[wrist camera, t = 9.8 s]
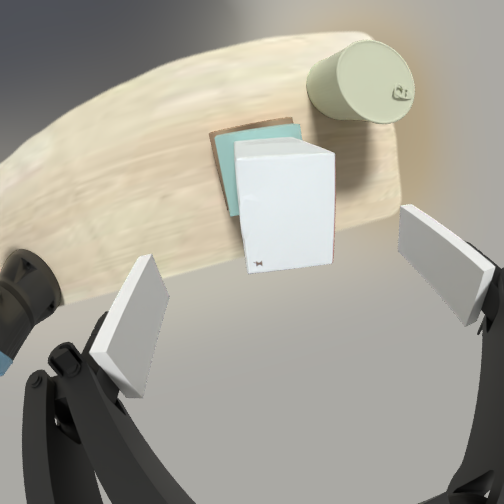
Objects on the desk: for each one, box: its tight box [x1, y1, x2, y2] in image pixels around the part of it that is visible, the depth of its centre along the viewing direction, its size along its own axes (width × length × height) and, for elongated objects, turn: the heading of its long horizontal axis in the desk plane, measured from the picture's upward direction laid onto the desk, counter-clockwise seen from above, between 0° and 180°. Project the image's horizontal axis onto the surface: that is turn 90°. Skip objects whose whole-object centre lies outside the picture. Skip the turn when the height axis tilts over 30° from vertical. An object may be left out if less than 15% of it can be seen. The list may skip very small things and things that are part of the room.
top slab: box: [215, 123, 302, 216], centre depth 30 cm, size 9×9×4 cm
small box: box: [234, 137, 336, 274], centre depth 23 cm, size 8×6×13 cm
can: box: [307, 40, 415, 124], centre depth 25 cm, size 9×9×12 cm
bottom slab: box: [209, 117, 293, 210], centre depth 34 cm, size 10×10×4 cm
